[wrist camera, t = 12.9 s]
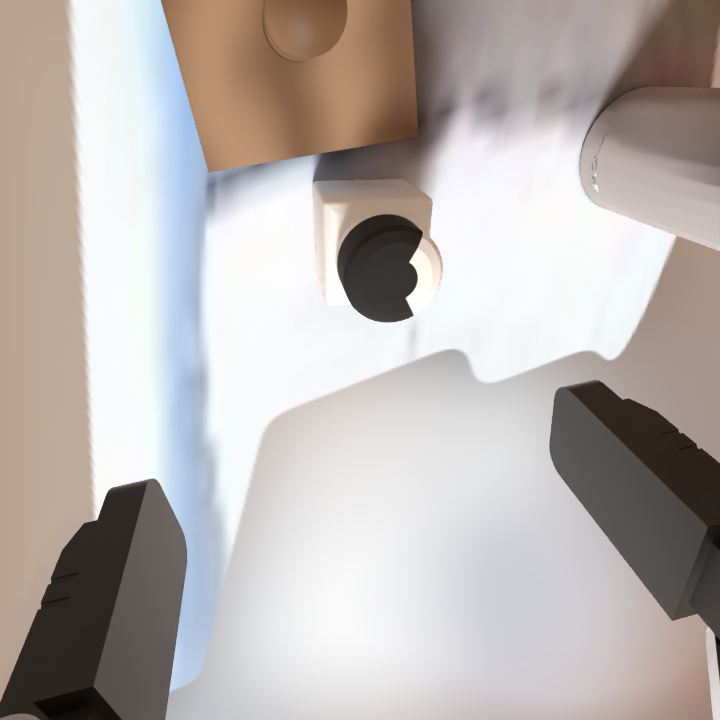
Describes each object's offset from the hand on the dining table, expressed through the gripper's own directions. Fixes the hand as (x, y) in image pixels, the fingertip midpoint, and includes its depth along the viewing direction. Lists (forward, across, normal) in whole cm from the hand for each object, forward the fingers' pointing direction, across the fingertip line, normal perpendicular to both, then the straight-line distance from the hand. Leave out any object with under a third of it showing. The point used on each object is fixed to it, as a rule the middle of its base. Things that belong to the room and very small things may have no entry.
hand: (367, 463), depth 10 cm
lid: (+25, -2, -9) cm, 27 cm away
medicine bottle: (+30, -5, +4) cm, 31 cm away
